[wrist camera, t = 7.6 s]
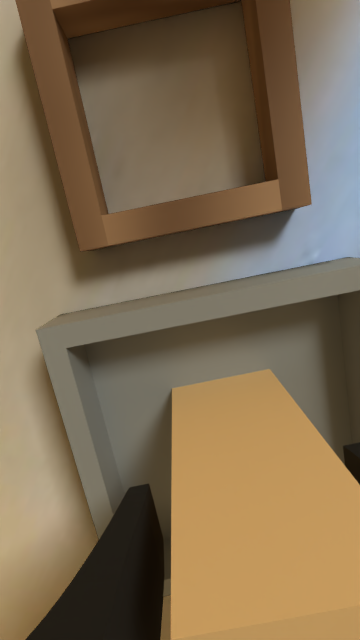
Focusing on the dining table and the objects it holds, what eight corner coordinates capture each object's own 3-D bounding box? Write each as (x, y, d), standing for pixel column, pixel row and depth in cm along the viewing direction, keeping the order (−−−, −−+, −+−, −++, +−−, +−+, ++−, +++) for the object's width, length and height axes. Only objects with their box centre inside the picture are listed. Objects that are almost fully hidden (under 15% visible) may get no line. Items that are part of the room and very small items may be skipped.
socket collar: (266, -41, 11) (280, -84, 10) (296, 208, 13) (311, 204, 12) (30, 11, 11) (9, -24, 10) (90, 250, 13) (79, 251, 12)
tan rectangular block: (269, 368, 14) (440, 590, 5) (283, 455, 15) (450, 775, 6) (172, 388, 14) (170, 639, 5) (191, 473, 15) (218, 815, 6)
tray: (348, 257, 13) (387, 259, 11) (370, 505, 16) (405, 552, 14) (60, 314, 14) (35, 329, 11) (126, 550, 16) (118, 604, 14)
